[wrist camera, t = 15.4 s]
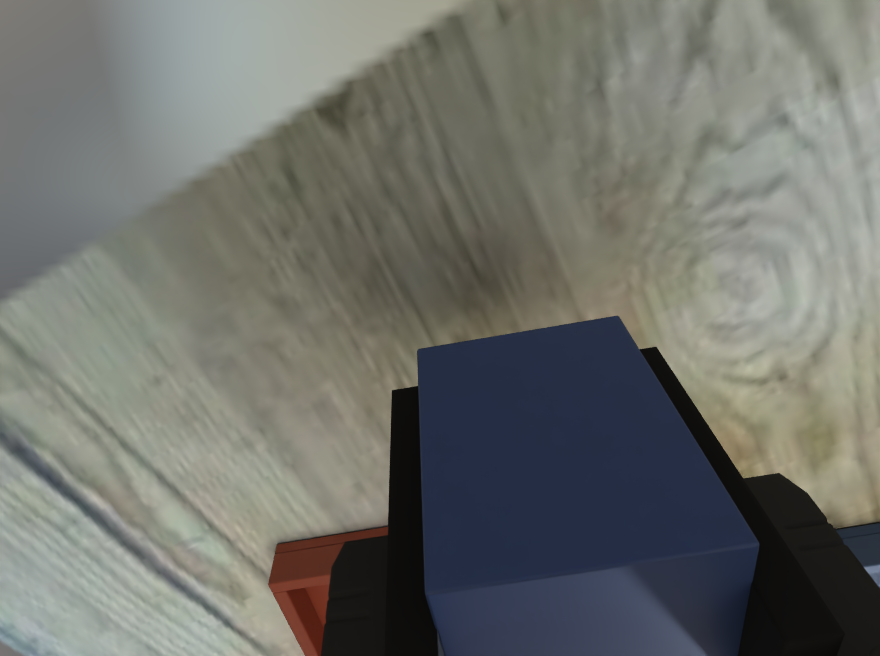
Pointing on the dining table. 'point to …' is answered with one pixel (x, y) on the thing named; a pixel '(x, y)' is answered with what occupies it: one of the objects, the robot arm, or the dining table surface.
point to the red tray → (308, 583)
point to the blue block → (572, 503)
